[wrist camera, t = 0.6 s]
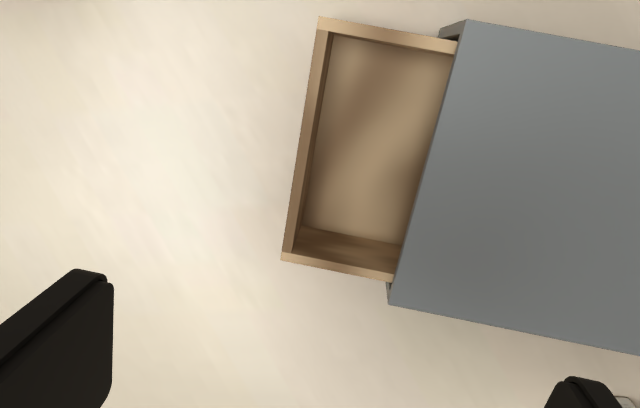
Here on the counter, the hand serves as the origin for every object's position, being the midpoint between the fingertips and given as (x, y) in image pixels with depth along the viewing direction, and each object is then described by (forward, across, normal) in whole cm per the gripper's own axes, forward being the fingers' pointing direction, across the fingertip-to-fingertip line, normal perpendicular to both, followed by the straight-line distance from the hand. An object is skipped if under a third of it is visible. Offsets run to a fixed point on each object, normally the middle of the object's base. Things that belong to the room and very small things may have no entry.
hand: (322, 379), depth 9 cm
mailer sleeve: (+21, -14, -1) cm, 26 cm away
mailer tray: (+21, -7, -1) cm, 22 cm away
